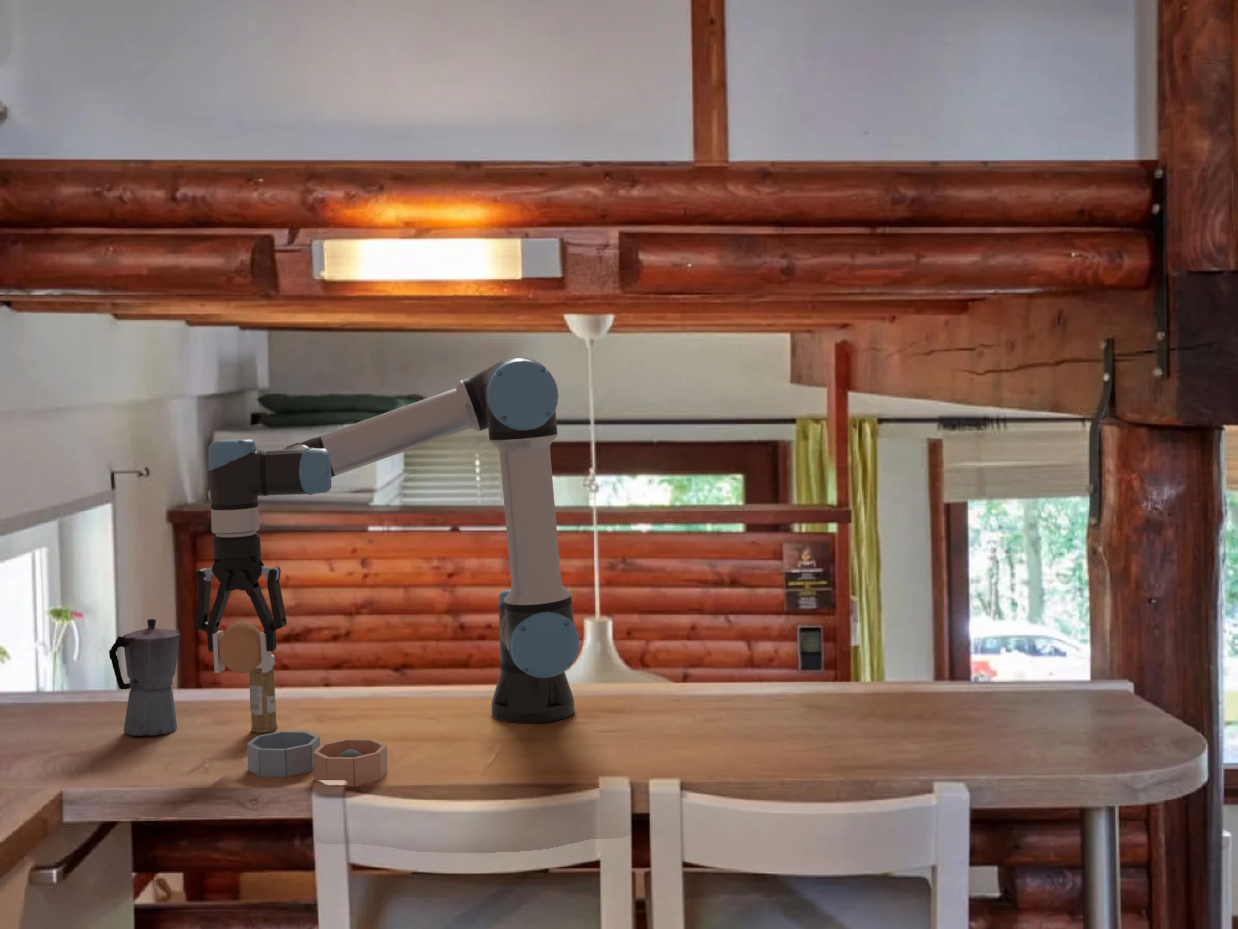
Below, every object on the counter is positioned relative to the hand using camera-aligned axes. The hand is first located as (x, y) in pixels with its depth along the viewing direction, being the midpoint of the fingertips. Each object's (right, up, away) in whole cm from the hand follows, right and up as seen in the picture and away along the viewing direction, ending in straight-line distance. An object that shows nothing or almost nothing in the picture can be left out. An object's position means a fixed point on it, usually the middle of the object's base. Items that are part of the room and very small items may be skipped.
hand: (243, 670), depth 220 cm
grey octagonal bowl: (+9, -15, -9) cm, 19 cm away
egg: (0, -1, 0) cm, 1 cm away
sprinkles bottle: (-1, -13, +15) cm, 20 cm away
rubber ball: (+21, -14, -14) cm, 29 cm away
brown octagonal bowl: (+21, -15, -14) cm, 29 cm away
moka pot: (-21, -13, +15) cm, 29 cm away
